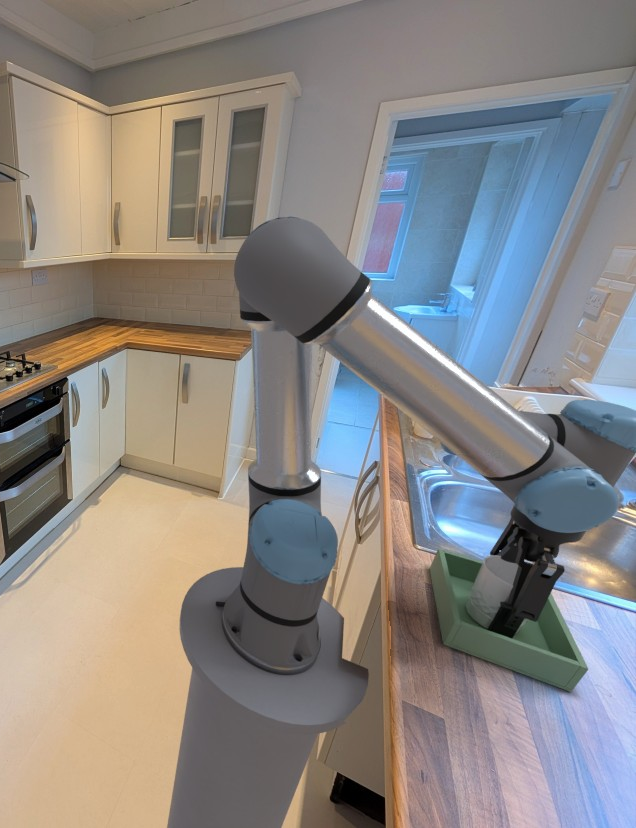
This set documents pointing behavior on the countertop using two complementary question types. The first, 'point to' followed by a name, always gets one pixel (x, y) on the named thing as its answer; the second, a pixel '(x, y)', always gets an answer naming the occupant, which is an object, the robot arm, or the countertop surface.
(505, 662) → the tray
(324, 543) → the robot arm
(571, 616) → the countertop surface
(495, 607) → the white cup
